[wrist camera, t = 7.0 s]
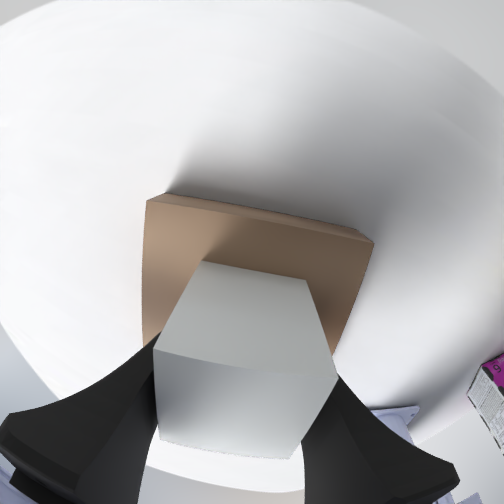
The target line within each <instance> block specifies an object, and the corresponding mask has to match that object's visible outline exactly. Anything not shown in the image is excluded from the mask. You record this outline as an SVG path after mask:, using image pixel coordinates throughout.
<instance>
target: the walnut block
mask: <svg viewBox="0 0 504 504" xmlns="http://www.w3.org/2000/svg"><path fill="white" fill-rule="evenodd" d="M373 247H374V243H373V242H372V241H371V240H369V239H368V238H367V237H365V236H364V235H363V234H361V233H360V232H359V231H358V230H356V229H352V228H348V227H343V226H339V225H335V224H330V223H326V222H321V221H316V220H312V219H307V218H302V217H297V216H293V215H288V214H283V213H278V212H273V211H268V210H262V209H257V208H252V207H246V206H241V205H235V204H230V203H224V202H218V201H212V200H206V199H200V198H194V197H188V196H181V195H175V194H168V193H164V194H161V195H159V196H156V197H154V198H151V199H149V200H147V201H146V211H145V223H144V238H143V258H142V332H143V347H144V346H145V345H146V344H147V343H149V342H150V341H151V340H152V339H153V338H154V337H155V336H156V335H157V334H158V333H160V332H162V330H163V328H164V327H165V325H166V323H167V321H168V319H169V317H170V315H171V314H172V312H173V310H174V308H175V306H176V304H177V302H178V301H179V299H180V297H181V295H182V293H183V292H184V290H185V288H186V286H187V284H188V283H189V281H190V279H191V277H192V275H193V274H194V272H195V270H196V268H197V267H198V265H199V263H200V261H206V262H212V263H217V264H222V265H227V266H232V267H238V268H243V269H248V270H253V271H259V272H264V273H270V274H275V275H280V276H286V277H291V278H297V279H303V280H306V282H307V285H308V287H309V290H310V293H311V296H312V299H313V302H314V304H315V307H316V310H317V313H318V316H319V319H320V322H321V325H322V328H323V331H324V334H325V337H326V340H327V343H328V346H329V349H330V352H331V355H333V353H334V351H335V349H336V346H337V344H338V342H339V339H340V337H341V335H342V332H343V330H344V328H345V325H346V323H347V320H348V318H349V315H350V313H351V310H352V308H353V305H354V302H355V300H356V297H357V294H358V292H359V289H360V286H361V283H362V280H363V277H364V275H365V272H366V269H367V266H368V263H369V259H370V256H371V253H372V250H373Z"/></svg>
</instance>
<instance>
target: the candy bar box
mask: <svg viewBox="0 0 504 504" xmlns="http://www.w3.org/2000/svg"><path fill="white" fill-rule="evenodd" d="M467 396H468V398H469V399H470V401H471V402H472V404H473V405H474V407H475V408H476V410H477V411H478V413H479V415H480V416H481V418H482V419H483V421H484V422H485V424H486V426H487V427H488V429H489V431H490V432H491V434H492V436H493V438H494V439H495V441H496V443H497V444H498V447H499V448H500V450H501V452H502V454H503V455H504V354H502V355H500V356H498V357H496V358H495V359H493V360H491V361H489V362H487V363H485V364H483V365H481V366H480V368H479V370H478V372H477V374H476V376H475V379H474V381H473V383H472V385H471V387H470V389H469V391H468V393H467Z"/></svg>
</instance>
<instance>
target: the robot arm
mask: <svg viewBox="0 0 504 504" xmlns="http://www.w3.org/2000/svg"><path fill="white" fill-rule="evenodd" d="M160 334H161V332H160V333H158V334H157V335H156V336H155V337H154V338H153V339H152V340H151V341H150V342H149V343H147V344H146V345H145V346H144V347H143V348H142V349H141V350H140V351H138V352H137V353H136V354H135V355H134V356H132V357H131V358H130V359H129V360H128V361H126V362H125V363H124V364H123V365H121V366H120V367H118V368H117V369H116V370H114V371H113V372H112V373H110V374H109V375H107V376H106V377H104V378H103V379H101V380H100V381H98V382H96V383H95V384H93V385H91V386H89V387H88V388H86V389H84V390H82V391H80V392H78V393H76V394H74V395H71V396H69V397H67V398H65V399H62V400H59V401H57V402H54V403H51V404H48V405H45V406H42V407H39V408H35V409H30V410H26V411H21V412H15V413H10V414H9V415H8V416H7V417H6V419H5V420H4V421H3V423H2V424H1V426H0V453H1V454H3V456H4V457H5V458H6V459H7V460H8V461H9V462H10V463H11V464H12V465H13V466H14V467H15V468H16V469H15V471H14V473H13V474H11V473H10V472H9V471H8V470H6V469H5V468H4V467H3V466H1V465H0V504H137V503H138V497H139V491H140V486H141V481H142V476H143V471H144V467H145V463H146V459H147V455H148V450H149V447H150V443H151V440H152V437H153V435H154V432H155V430H156V427H157V424H158V419H157V409H156V397H155V382H154V362H153V348H154V346H155V344H156V342H157V340H158V338H159V336H160ZM337 374H338V373H337ZM419 410H420V408H419V406H411V407H403V408H394V409H383V410H369V409H368V408H367V407H366V406H365V405H364V404H363V403H362V402H361V401H360V400H359V399H358V397H357V396H356V395H355V394H354V393H353V392H352V391H351V389H350V388H349V387H348V386H347V385H346V383H345V382H344V381H343V380H342V378H341V377H340V376H339V375H338V380H337V382H336V384H335V386H334V388H333V389H332V391H331V393H330V395H329V397H328V398H327V400H326V402H325V404H324V405H323V407H322V409H321V410H320V412H319V414H318V415H317V417H316V419H315V420H314V422H313V423H312V425H311V427H310V428H309V430H308V431H307V433H306V434H305V436H304V437H303V439H302V440H301V445H302V451H303V457H304V469H305V504H455V503H454V500H453V498H452V495H451V493H450V491H451V490H452V489H454V488H455V487H456V486H457V485H458V484H459V482H460V479H459V477H458V474H457V472H456V470H455V468H454V465H453V464H452V463H449V462H447V461H445V460H442V459H440V458H437V457H435V456H433V455H431V454H429V453H426V452H425V451H423V450H421V449H419V448H417V447H416V446H415V445H414V443H413V440H412V438H411V436H410V433H409V431H408V429H407V427H406V426H407V425H408V424H409V422H410V421H411V420H412V419H413V418H414V417H415V415H416V414H417V413H418V412H419ZM458 504H482V502H481V499H480V497H479V494H478V493H475V494H473V495H472V496H470V497H468V498H466V499H465V500H463V501H461V502H460V503H458Z"/></svg>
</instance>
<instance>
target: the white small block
mask: <svg viewBox="0 0 504 504" xmlns="http://www.w3.org/2000/svg"><path fill="white" fill-rule="evenodd" d="M153 362H154V382H155V397H156V409H157V419H158V428H159V437H160V440H162V441H166V442H169V443H173V444H178V445H182V446H186V447H191V448H195V449H200V450H206V451H211V452H217V453H223V454H230V455H238V456H246V457H257V458H269V459H289V458H290V456H291V455H292V454H293V452H294V451H295V449H296V448H297V446H298V445H299V443H300V442H301V440H302V439H303V437H304V436H305V434H306V433H307V431H308V430H309V428H310V427H311V425H312V423H313V422H314V420H315V419H316V417H317V415H318V414H319V412H320V410H321V409H322V407H323V405H324V404H325V402H326V400H327V398H328V397H329V395H330V393H331V391H332V389H333V388H334V386H335V384H336V382H337V380H338V374H337V371H336V368H335V365H334V362H333V358H332V355H331V352H330V349H329V346H328V343H327V340H326V337H325V334H324V331H323V328H322V325H321V322H320V319H319V316H318V313H317V310H316V307H315V304H314V302H313V299H312V296H311V293H310V290H309V287H308V285H307V282H306V280H303V279H297V278H291V277H286V276H280V275H275V274H270V273H264V272H259V271H253V270H248V269H243V268H238V267H232V266H227V265H222V264H217V263H212V262H206V261H200V263H199V265H198V267H197V268H196V270H195V272H194V274H193V275H192V277H191V279H190V281H189V283H188V284H187V286H186V288H185V290H184V292H183V293H182V295H181V297H180V299H179V301H178V302H177V304H176V306H175V308H174V310H173V312H172V314H171V315H170V317H169V319H168V321H167V323H166V325H165V327H164V328H163V330H162V332H161V334H160V336H159V338H158V340H157V342H156V344H155V346H154V348H153Z"/></svg>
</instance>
